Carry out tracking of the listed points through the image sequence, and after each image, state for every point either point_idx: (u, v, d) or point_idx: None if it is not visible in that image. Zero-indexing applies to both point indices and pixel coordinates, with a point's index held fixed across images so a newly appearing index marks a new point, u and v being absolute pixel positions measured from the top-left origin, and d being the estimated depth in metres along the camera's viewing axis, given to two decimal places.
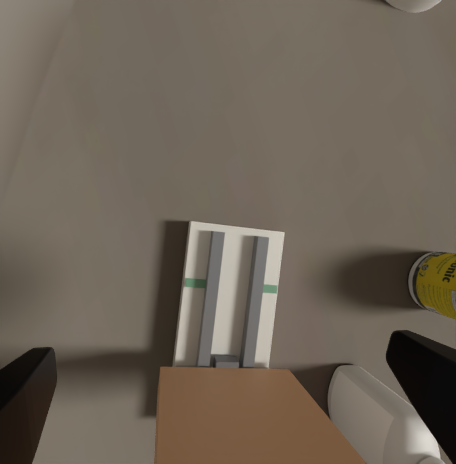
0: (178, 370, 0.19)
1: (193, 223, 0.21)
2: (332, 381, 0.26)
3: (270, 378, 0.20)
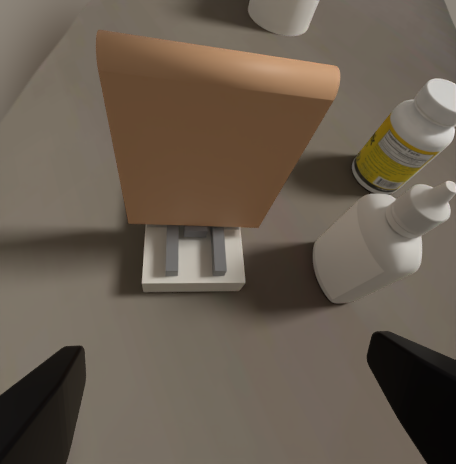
0: None
1: None
2: (313, 254, 0.25)
3: None
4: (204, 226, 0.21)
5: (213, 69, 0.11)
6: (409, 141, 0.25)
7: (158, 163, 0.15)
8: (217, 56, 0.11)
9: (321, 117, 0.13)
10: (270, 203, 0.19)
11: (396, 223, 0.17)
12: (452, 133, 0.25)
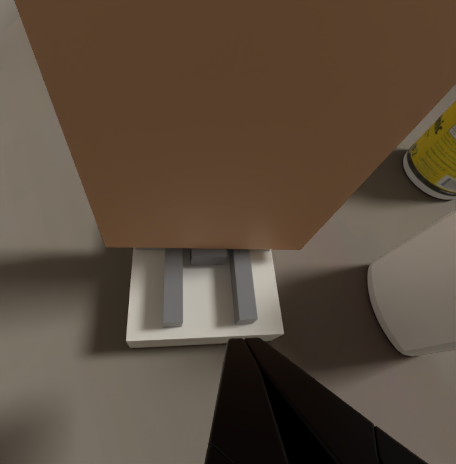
0: None
1: None
2: (369, 282, 0.18)
3: None
4: (221, 249, 0.14)
5: None
6: None
7: (148, 144, 0.08)
8: None
9: None
10: (329, 215, 0.12)
11: None
12: None
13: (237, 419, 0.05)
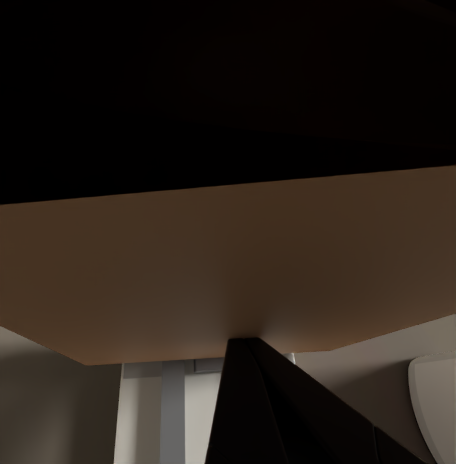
0: None
1: None
2: (412, 389, 0.15)
3: None
4: None
5: None
6: None
7: (132, 321, 0.05)
8: None
9: None
10: (376, 335, 0.09)
11: None
12: None
13: (237, 419, 0.05)
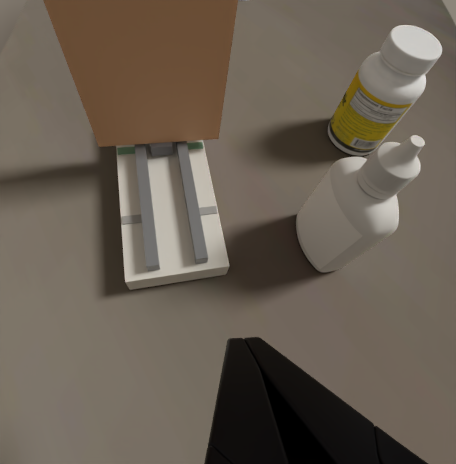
0: None
1: None
2: (296, 226, 0.25)
3: None
4: (168, 142, 0.23)
5: None
6: (380, 97, 0.24)
7: (107, 68, 0.17)
8: None
9: None
10: (220, 106, 0.21)
11: (368, 186, 0.16)
12: (423, 82, 0.24)
13: (237, 419, 0.05)
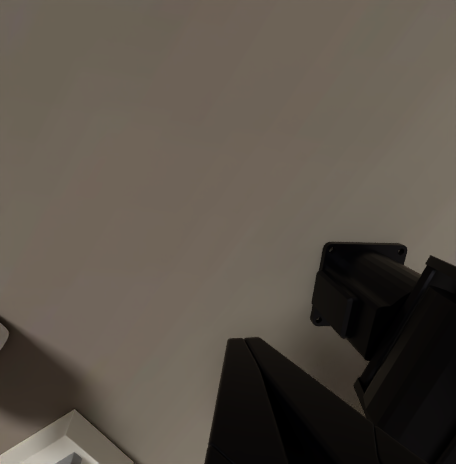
0: None
1: None
2: None
3: None
4: None
5: None
6: None
7: None
8: None
9: None
10: None
11: None
12: None
13: (237, 419, 0.05)
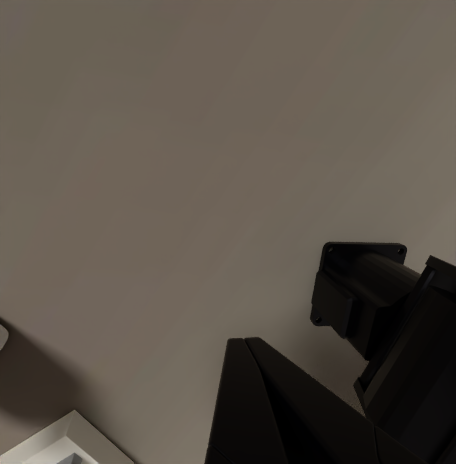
0: None
1: None
2: None
3: None
4: None
5: None
6: None
7: None
8: None
9: None
10: None
11: None
12: None
13: (237, 419, 0.05)
